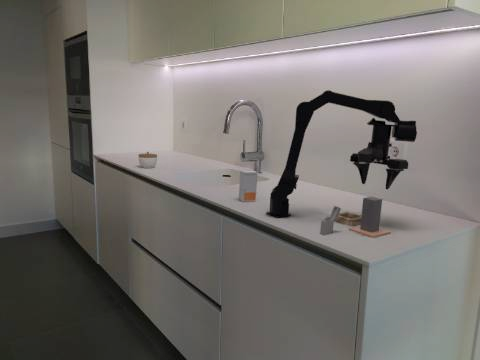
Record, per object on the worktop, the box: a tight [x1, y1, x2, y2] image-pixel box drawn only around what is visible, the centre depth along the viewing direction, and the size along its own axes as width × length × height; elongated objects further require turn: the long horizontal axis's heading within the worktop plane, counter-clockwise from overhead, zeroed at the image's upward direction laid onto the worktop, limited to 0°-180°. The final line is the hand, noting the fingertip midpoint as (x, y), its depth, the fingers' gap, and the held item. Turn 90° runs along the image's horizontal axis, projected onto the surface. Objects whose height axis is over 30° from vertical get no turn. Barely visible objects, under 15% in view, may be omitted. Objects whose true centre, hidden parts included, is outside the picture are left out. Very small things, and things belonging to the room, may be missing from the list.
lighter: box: [319, 205, 342, 236], centre depth 122 cm, size 7×2×8 cm, turn 129°
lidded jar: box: [138, 151, 158, 169], centre depth 236 cm, size 11×11×9 cm
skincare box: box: [238, 170, 258, 203], centre depth 160 cm, size 6×4×12 cm
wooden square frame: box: [334, 211, 362, 227], centre depth 136 cm, size 8×8×2 cm
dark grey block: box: [360, 196, 383, 232], centre depth 125 cm, size 4×4×10 cm
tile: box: [348, 225, 391, 239], centre depth 125 cm, size 9×9×1 cm
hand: (374, 186), depth 134 cm, fingers open, 9 cm apart
